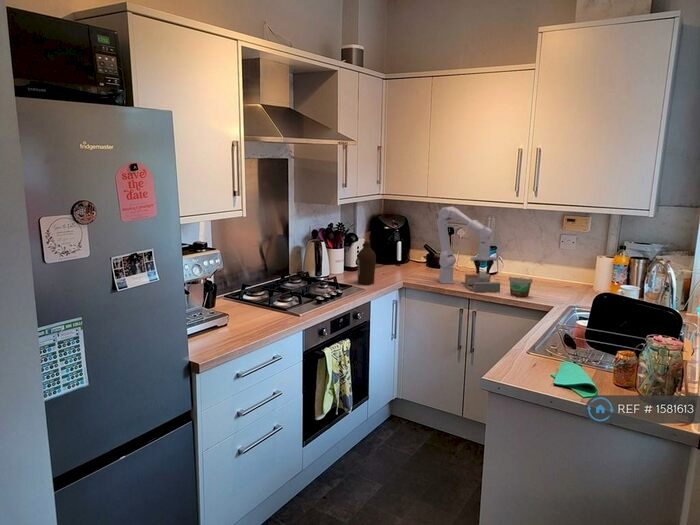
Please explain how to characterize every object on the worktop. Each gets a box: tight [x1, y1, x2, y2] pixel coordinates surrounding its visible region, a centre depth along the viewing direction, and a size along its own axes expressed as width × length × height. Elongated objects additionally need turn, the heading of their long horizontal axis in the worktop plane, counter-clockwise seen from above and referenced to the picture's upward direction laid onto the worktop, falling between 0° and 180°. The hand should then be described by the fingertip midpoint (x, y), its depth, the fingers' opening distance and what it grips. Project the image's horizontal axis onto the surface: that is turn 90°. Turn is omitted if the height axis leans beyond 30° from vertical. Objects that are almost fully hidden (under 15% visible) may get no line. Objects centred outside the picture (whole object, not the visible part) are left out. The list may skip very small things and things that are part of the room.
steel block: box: [476, 270, 490, 282], centre depth 286 cm, size 5×5×7 cm
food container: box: [508, 276, 534, 298], centre depth 271 cm, size 12×6×10 cm, turn 62°
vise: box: [460, 281, 501, 294], centre depth 288 cm, size 20×17×5 cm
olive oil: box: [356, 239, 377, 286], centre depth 292 cm, size 11×11×25 cm
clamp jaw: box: [464, 273, 492, 286], centre depth 294 cm, size 3×14×6 cm, turn 96°
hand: (482, 273), depth 286 cm, fingers closed on steel block, 5 cm apart
